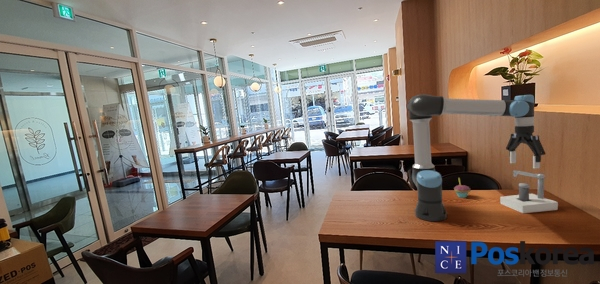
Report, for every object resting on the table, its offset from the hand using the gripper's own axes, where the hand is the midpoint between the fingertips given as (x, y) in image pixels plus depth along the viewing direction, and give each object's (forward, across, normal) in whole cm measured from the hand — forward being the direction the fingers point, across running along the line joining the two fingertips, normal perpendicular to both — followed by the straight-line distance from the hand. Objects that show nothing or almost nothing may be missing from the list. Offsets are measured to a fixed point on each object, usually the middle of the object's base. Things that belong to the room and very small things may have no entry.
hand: (524, 165), depth 133 cm
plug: (+23, 0, 0) cm, 23 cm away
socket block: (+23, 0, -2) cm, 23 cm away
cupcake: (+23, +23, +18) cm, 37 cm away
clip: (+10, +6, -8) cm, 13 cm away
